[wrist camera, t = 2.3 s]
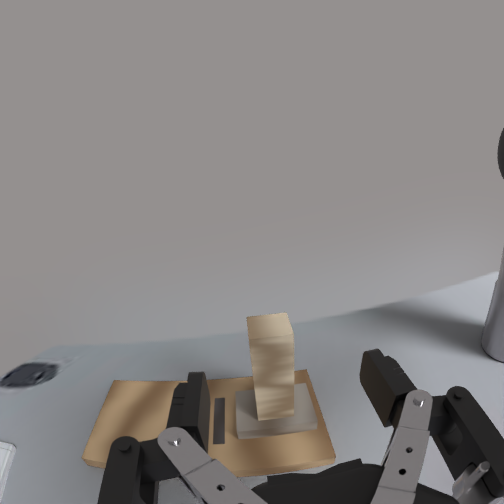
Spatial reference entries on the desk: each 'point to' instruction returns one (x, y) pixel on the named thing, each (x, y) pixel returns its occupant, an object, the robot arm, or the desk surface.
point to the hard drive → (5, 463)
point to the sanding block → (273, 383)
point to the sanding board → (220, 427)
